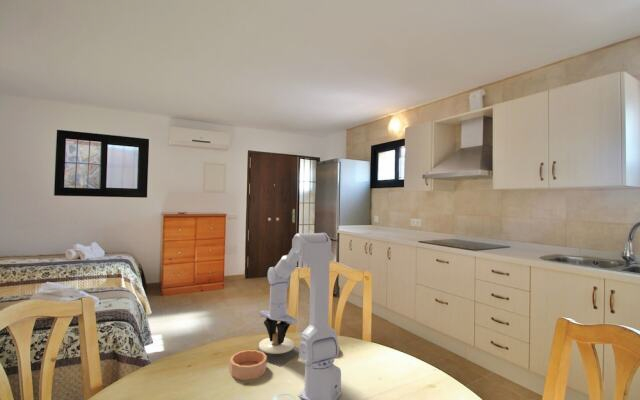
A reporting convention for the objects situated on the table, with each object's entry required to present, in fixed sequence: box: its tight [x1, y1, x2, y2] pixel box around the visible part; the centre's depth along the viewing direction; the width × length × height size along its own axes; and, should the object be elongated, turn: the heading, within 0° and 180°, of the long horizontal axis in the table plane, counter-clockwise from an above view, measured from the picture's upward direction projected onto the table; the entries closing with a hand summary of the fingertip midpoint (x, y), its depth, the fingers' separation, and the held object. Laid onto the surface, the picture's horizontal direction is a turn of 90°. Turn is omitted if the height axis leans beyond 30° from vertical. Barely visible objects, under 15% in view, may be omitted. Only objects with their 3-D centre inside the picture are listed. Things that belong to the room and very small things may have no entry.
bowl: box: [228, 349, 268, 381], centre depth 100 cm, size 11×11×4 cm
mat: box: [255, 346, 299, 368], centre depth 112 cm, size 14×14×1 cm
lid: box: [258, 331, 295, 354], centre depth 112 cm, size 12×12×4 cm
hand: (276, 341), depth 112 cm, fingers closed on lid, 3 cm apart
